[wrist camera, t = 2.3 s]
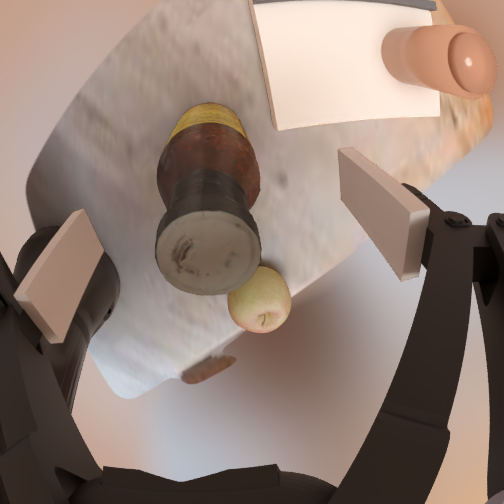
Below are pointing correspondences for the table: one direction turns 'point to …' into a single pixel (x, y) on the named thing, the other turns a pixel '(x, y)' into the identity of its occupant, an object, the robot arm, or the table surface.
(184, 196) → the sauce bottle
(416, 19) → the white rectangular box
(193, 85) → the table surface
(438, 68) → the terracotta jar
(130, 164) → the table surface
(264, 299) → the fruit
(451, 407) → the robot arm
